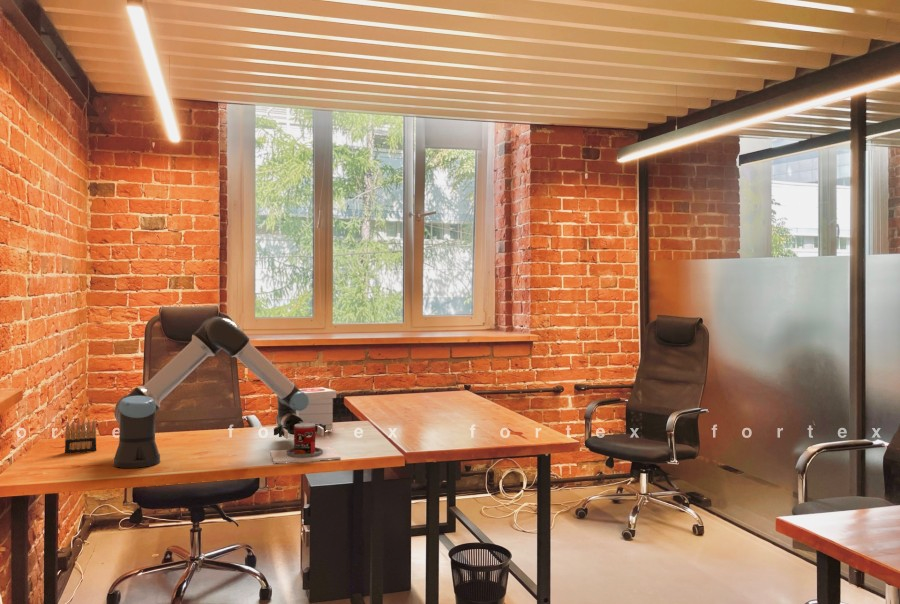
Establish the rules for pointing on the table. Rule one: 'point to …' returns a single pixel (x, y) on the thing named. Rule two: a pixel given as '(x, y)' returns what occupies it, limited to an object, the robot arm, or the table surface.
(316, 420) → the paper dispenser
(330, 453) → the carrier plate
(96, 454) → the table surface
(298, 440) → the canned food
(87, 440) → the ammunition clip
